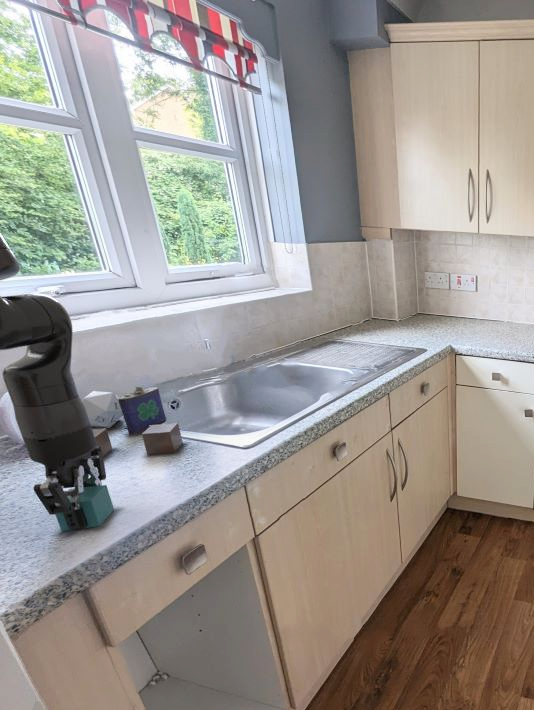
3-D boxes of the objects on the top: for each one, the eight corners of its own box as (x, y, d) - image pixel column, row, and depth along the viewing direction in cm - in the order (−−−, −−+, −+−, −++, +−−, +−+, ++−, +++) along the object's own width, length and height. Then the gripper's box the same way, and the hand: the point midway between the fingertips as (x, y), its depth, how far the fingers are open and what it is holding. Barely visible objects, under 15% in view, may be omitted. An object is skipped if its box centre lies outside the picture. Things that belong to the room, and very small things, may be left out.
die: (84, 438, 105) (108, 403, 105) (57, 415, 106) (80, 380, 105) (121, 435, 113) (143, 403, 113) (95, 414, 114) (117, 382, 114)
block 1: (71, 461, 94) (63, 440, 92) (84, 451, 98) (77, 430, 96) (101, 459, 95) (94, 437, 93) (112, 448, 100) (106, 428, 98)
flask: (160, 419, 115) (150, 379, 111) (171, 420, 115) (161, 380, 111) (125, 434, 106) (112, 391, 103) (136, 435, 106) (123, 392, 102)
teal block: (61, 531, 73) (51, 504, 71) (78, 513, 78) (69, 488, 76) (99, 526, 75) (90, 500, 73) (114, 509, 79) (106, 484, 78)
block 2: (147, 455, 98) (141, 434, 96) (156, 445, 102) (151, 424, 100) (174, 452, 99) (169, 431, 98) (182, 442, 104) (178, 422, 102)
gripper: (53, 411, 75) (83, 498, 81) (-10, 448, 63) (31, 549, 69) (109, 407, 78) (134, 493, 84) (59, 443, 65) (93, 540, 71)
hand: (88, 517), depth 76 cm, fingers closed on teal block, 5 cm apart
